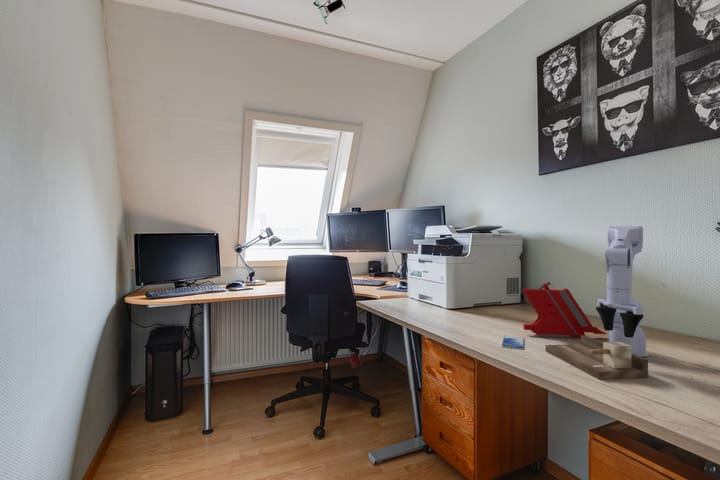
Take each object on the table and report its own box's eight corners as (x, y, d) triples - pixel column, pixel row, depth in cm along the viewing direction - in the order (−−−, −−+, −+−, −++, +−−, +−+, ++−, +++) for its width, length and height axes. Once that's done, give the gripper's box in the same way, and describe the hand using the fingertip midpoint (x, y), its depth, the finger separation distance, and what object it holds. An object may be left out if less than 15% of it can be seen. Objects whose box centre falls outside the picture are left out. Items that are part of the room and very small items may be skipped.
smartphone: (524, 337, 133) (524, 348, 119) (524, 340, 133) (524, 351, 119) (503, 335, 136) (501, 345, 122) (503, 337, 136) (501, 348, 122)
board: (585, 350, 119) (585, 335, 119) (648, 378, 95) (648, 359, 95) (545, 351, 118) (545, 336, 118) (599, 379, 94) (599, 360, 94)
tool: (600, 331, 138) (567, 268, 140) (609, 334, 132) (574, 268, 134) (536, 358, 140) (505, 295, 142) (543, 362, 134) (510, 297, 136)
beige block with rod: (619, 362, 101) (619, 341, 101) (631, 367, 97) (631, 346, 97) (586, 363, 100) (586, 342, 100) (597, 368, 96) (597, 346, 96)
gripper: (588, 285, 112) (588, 327, 112) (625, 292, 97) (625, 340, 98) (609, 284, 112) (609, 327, 112) (649, 291, 98) (649, 340, 98)
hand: (618, 333), depth 105 cm, fingers open, 7 cm apart
